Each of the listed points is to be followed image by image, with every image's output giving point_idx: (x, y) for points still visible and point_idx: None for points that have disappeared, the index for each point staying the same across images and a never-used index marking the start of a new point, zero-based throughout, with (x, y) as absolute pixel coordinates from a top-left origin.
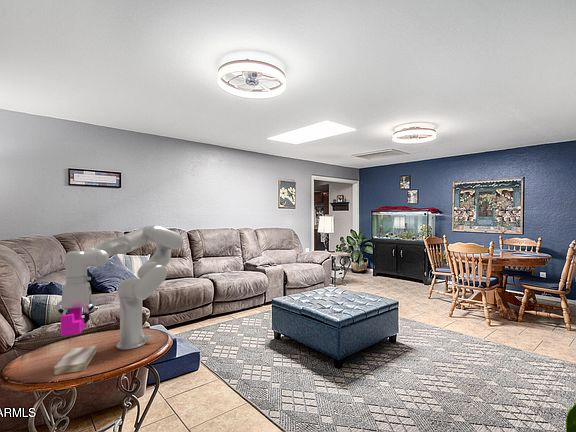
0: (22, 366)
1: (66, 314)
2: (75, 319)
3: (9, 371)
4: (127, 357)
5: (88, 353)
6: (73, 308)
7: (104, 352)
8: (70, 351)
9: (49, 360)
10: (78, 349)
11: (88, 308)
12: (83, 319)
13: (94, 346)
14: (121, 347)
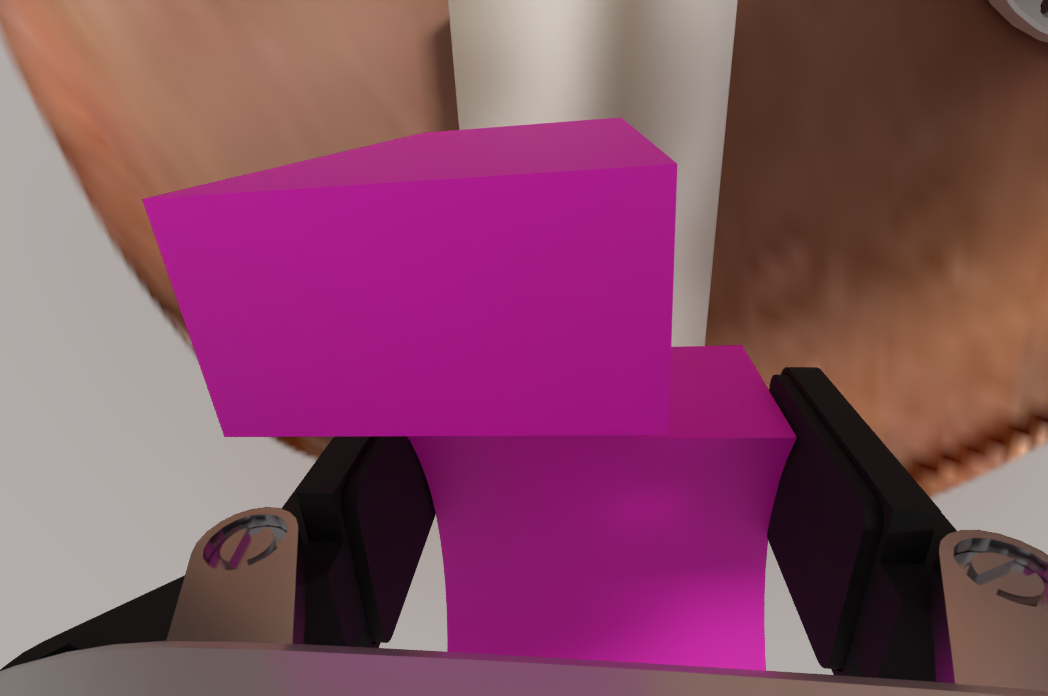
0: (148, 145)
1: (351, 643)
2: (561, 454)
3: (118, 223)
4: (1028, 281)
5: (691, 242)
6: (356, 425)
7: (812, 33)
8: (482, 96)
9: (309, 73)
10: (553, 57)
11: (1046, 683)
12: (739, 476)
13: (723, 7)
14: (1027, 18)
